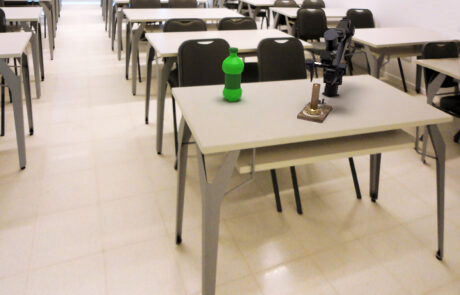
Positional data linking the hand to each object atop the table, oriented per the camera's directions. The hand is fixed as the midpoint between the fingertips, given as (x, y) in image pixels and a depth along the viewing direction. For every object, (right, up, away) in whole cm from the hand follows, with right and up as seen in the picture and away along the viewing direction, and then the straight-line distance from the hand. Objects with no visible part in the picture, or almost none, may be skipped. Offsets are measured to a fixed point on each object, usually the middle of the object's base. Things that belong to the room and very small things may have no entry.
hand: (320, 83), depth 166 cm
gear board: (-2, -13, +3) cm, 14 cm away
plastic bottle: (-40, -5, +17) cm, 44 cm away
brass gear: (-4, -13, -1) cm, 14 cm away
